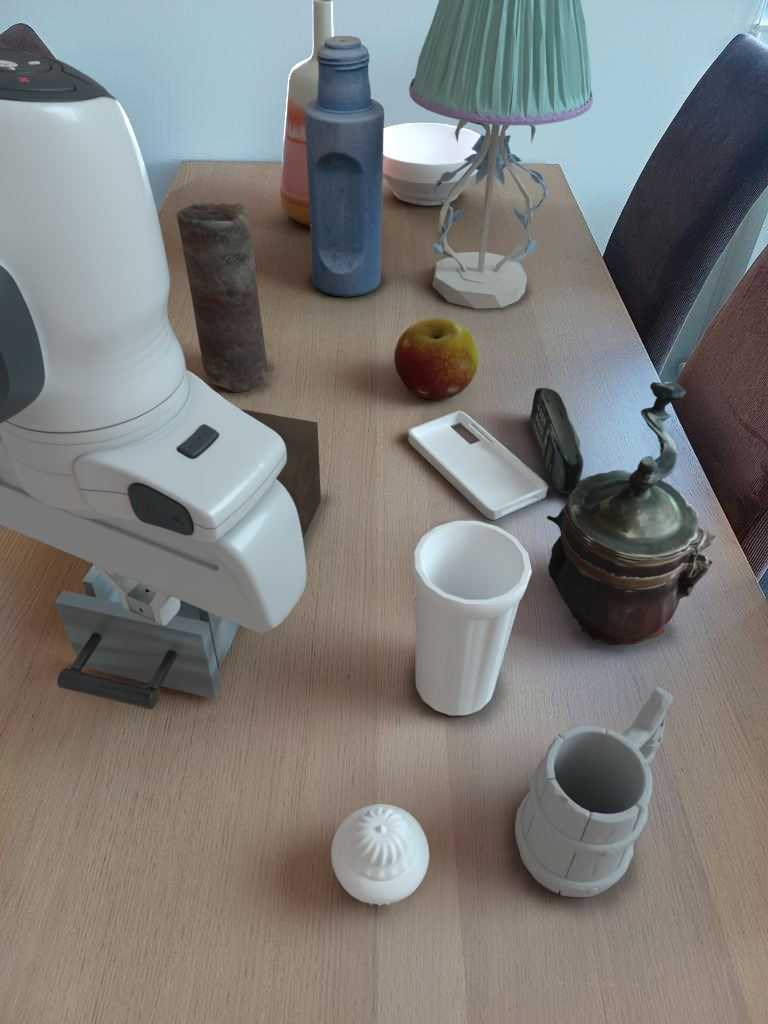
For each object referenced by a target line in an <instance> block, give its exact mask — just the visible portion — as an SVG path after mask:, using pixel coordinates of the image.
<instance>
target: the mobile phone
mask: <svg viewBox="0 0 768 1024" xmlns="http://www.w3.org/2000/svg"><path fill="white" fill-rule="evenodd" d="M529 421H530V424H531V427H532V428H533V432H534V434H535V437H536V440H537V444H538V446H539V448H540V451H541V455H542V458H543V463H544V470H545V474H546V476H547V478H548V480H549V482H550V483H551V484H552V485H553V487H554V488H555V490H556V491H557V492H558V493H560V494H565V495H566V494H567V495H569V496H570V495H571V493H572V491H573V490H575V488H576V485H577V483H578V482H579V481H580V480H582V479H581V478H582V474H583V469H584V459H583V455H582V453H581V450H580V449H581V448H580V447H581V441H580V438H579V435H578V434H577V431H576V429H575V426H574V424H573V422H572V420H571V418H570V415H569V412H568V410H567V407H566V405H565V403H564V401H563V399H562V397H561V395H560V394H559V393H558V392H557V391H555V390H554V389H552V388H548V387H538V388H536V389H535V390H534V394H533V399H532V406H531V411H530V417H529Z"/></svg>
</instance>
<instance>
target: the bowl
mask: <svg viewBox="0 0 768 1024" xmlns="http://www.w3.org/2000/svg"><path fill="white" fill-rule="evenodd" d="M457 126H458V125H457ZM457 126H456V125H452V124H451V125H450V124H444V123H433V122H411V123H401V124H396V125H391V126H387V127H384V141H383V155H384V157H383V180H384V182H385V184H386V186H387V187H388V188H389V190H391V192H392V193H393V195H394V196H395V197H396V198H397V199H398V200H400V201H402V202H405V203H408V204H412V205H415V206H417V205H418V206H426V207H427V206H429V207H430V206H441V205H442V204H441V203H440V202H439V201H438V199H437V196H436V194H435V192H434V188H435V185H436V182H437V181H438V180H440V178H441V176H442V174H443V173H445V172H451V173H452V172H453V171H455V170H457V169H458V168H460V167H461V166H462V165H464V164H465V163H466V162H467V161H465V160H464V159H466V158H467V157H469V156H470V155H472V154H476V151H474V150H472V147H473V146H474V145H475V143H476V142H477V141H478V139H479V138H480V136H481V134H480V133H477V132H475V131H473V130H470V129H467V128H464V127H462V128H461V129H460V132H459V137H458V142H457V140H456V136H455V131H456V128H457ZM472 164H473V163H472ZM472 164H470V165H468V166H467V167H465V168H464V169H462V170H460V171H459V172H457V173H456V175H455V176H454V177H453V178H452V179H451V180H449V181H447V182H442V183H441V184H440V186H439V187H438V188H437V190H438V193H439V195H440V198H441V200H442V201H443V202H444V203H445V201H446V199H447V197H448V195H449V193H450V191H451V189H452V188H453V187H454V185H455V184H456V183H457V182H458V181H459V179H460V178H461V177H462V176H463V175H464V173H465V172H466V171H467V170H468V169H469V167H470V166H471V165H472ZM477 172H478V170H477V169H475V170H474V172H473V173H472V174H471V175H470V176H469V178H468V179H467V180H466V181H465V182H464V184H463V185H462V186H461V187H460V188H459V190H458V191H457V192H456V193H455V195H454V196H453V197H452V199H451V202H454V201H456V199H458V197H459V196H460V194H461V193H462V192H463V191H464V190H466V189H467V187H468V185H469V184H470V182H471V181H473V179H474V177H476V174H477Z"/></svg>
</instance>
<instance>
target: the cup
mask: <svg viewBox="0 0 768 1024" xmlns="http://www.w3.org/2000/svg"><path fill="white" fill-rule="evenodd" d="M411 558H412V561H411V562H412V573H413V574H412V575H413V581H414V585H415V688H416V690H417V692H418V694H419V696H420V698H421V700H422V701H423V702H424V703H426V704H427V705H428V706H429V707H431V708H432V709H433V710H434V711H437V712H439V713H442V714H446V715H448V716H467V715H471V714H474V713H476V712H479V711H481V710H482V709H483V708H484V707H485V706H486V705H487V704H488V703H489V702H490V701H491V700H492V697H493V695H494V691H495V688H496V685H497V681H498V679H499V675H500V671H501V668H502V664H503V660H504V657H505V654H506V650H507V646H508V643H509V640H510V636H511V633H512V629H513V626H514V622H515V618H516V616H517V612H518V607H519V604H520V601H521V600H522V599H523V596H524V594H525V592H526V590H527V587H528V584H529V582H530V579H531V575H532V573H533V571H532V566H531V561H530V555H529V553H528V552H527V550H526V549H525V547H524V546H523V545H522V544H521V542H520V541H519V540H518V539H517V538H516V536H514V535H512V534H511V533H509V532H508V531H506V530H504V529H503V528H501V527H500V526H497V525H493V524H490V523H486V522H482V521H479V520H454V521H450V522H447V523H444V524H441V525H437V526H435V527H434V528H433V529H431V530H429V531H428V532H427V533H425V534H424V535H423V536H422V537H420V539H419V540H418V542H417V544H416V546H415V548H414V550H413V552H412V554H411Z"/></svg>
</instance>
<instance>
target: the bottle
mask: <svg viewBox="0 0 768 1024" xmlns="http://www.w3.org/2000/svg"><path fill="white" fill-rule="evenodd" d="M370 55H371V54H370V53H369V48H368V47H366V46H365V45H364V44H362V41H361V39H360V38H359V37H358V36H357V37H356V36H352V35H333V37H330V38H328V39H325V41H324V45H322V46H321V47H319V48H318V52H317V61H318V90H317V99H314V100H312V101H310V102H309V103H308V104H307V105H306V107H305V128H306V152H307V170H308V189H309V211H310V226H309V231H310V232H309V233H310V254H311V255H310V256H311V277H312V278H311V280H312V283H313V286H315V287H316V289H317V290H318V291H321V292H322V293H325V294H327V295H331V296H335V297H340V298H350V297H351V298H352V297H359V296H363V295H366V294H369V293H371V292H373V291H374V290H376V289H377V288H378V287H379V285H380V283H381V280H382V275H381V274H382V273H381V271H382V270H381V269H382V268H381V267H382V265H381V262H382V261H381V259H382V254H381V253H382V220H383V219H382V217H383V183H384V181H383V180H384V178H383V157H384V155H383V141H384V128H385V109H384V107H383V104H381V103H380V102H379V101H377V100H376V99H373V98H372V92H371V90H372V89H371V83H370V78H369V77H370V76H369V64H370Z"/></svg>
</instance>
